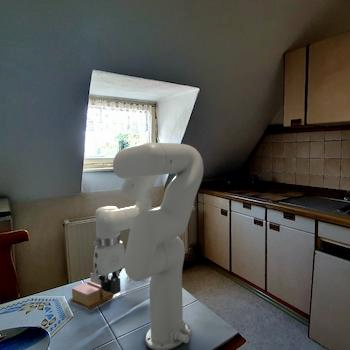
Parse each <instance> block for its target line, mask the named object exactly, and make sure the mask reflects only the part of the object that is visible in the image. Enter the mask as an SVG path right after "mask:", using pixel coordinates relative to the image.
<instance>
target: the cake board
mask: <svg viewBox="0 0 350 350" xmlns="http://www.w3.org/2000/svg"><path fill="white" fill-rule="evenodd" d="M120 295H121V293H120V292H119V293H117V294H111V295H110V296H108V297H106V298H104V299H103V298H100V301H98V302H96V303H94V304H92V305H90V306H86V305H84V304H82V303H79V302H77V301H75V300H73V298H72V297H71V298H69V299H68V301H69V302H72V303H73V304H76V305H78V306H80V307H82V308H84V309H87V310H88V311H92V310H94V309H96V308H98V307H100V306H102V305H103V304H105V303H107V302H109V301H111V300H113V299H115V298H117V297H119V296H120Z"/></svg>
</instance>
